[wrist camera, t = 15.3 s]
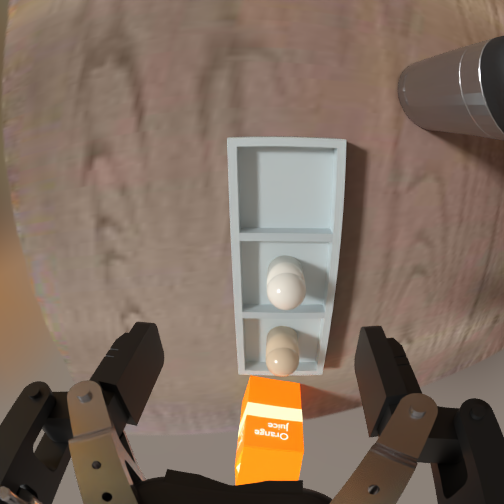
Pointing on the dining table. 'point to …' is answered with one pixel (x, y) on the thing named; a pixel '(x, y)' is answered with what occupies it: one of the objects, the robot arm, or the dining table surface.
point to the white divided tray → (285, 240)
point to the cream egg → (285, 283)
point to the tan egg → (282, 351)
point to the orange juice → (270, 432)
